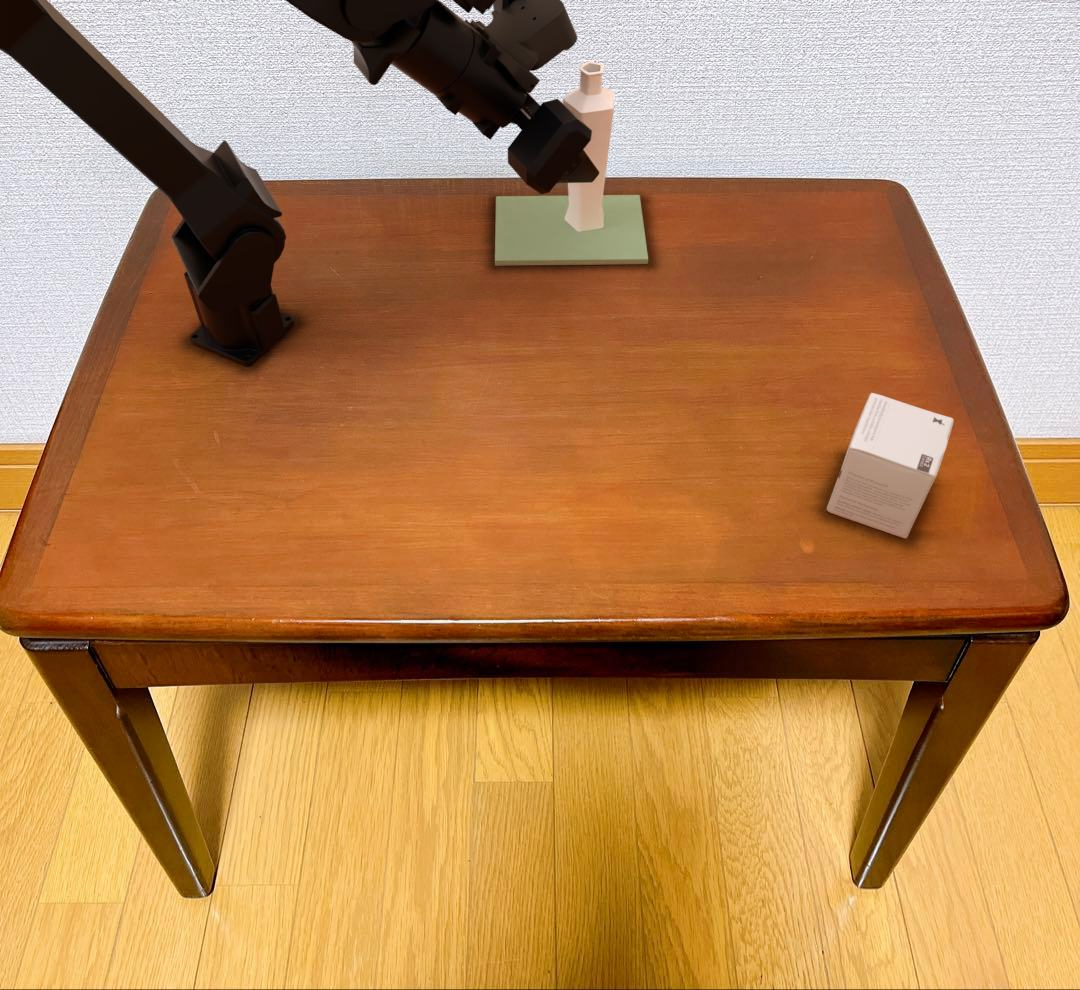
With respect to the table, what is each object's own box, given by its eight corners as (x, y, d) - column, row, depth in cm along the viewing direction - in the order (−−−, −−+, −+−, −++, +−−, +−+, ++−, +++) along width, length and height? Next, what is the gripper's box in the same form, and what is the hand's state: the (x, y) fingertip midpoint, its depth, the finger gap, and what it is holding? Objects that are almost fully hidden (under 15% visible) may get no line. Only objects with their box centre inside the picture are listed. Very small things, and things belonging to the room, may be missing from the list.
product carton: (845, 457, 78) (869, 389, 72) (925, 483, 76) (956, 415, 70) (824, 513, 74) (848, 446, 69) (907, 542, 73) (938, 475, 67)
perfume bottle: (620, 223, 96) (631, 71, 84) (582, 239, 94) (588, 86, 82) (592, 199, 98) (599, 48, 86) (554, 214, 97) (556, 62, 85)
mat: (495, 265, 93) (494, 260, 92) (496, 201, 99) (496, 196, 98) (647, 264, 93) (648, 258, 92) (639, 199, 99) (639, 194, 99)
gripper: (572, 18, 70) (689, 126, 81) (460, -81, 80) (578, 27, 92) (473, 150, 73) (598, 235, 85) (379, 38, 84) (502, 127, 96)
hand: (569, 150), depth 89 cm, fingers open, 9 cm apart
